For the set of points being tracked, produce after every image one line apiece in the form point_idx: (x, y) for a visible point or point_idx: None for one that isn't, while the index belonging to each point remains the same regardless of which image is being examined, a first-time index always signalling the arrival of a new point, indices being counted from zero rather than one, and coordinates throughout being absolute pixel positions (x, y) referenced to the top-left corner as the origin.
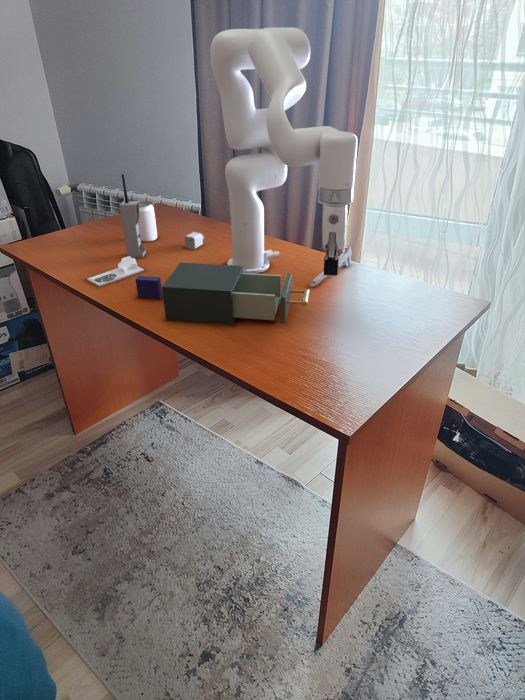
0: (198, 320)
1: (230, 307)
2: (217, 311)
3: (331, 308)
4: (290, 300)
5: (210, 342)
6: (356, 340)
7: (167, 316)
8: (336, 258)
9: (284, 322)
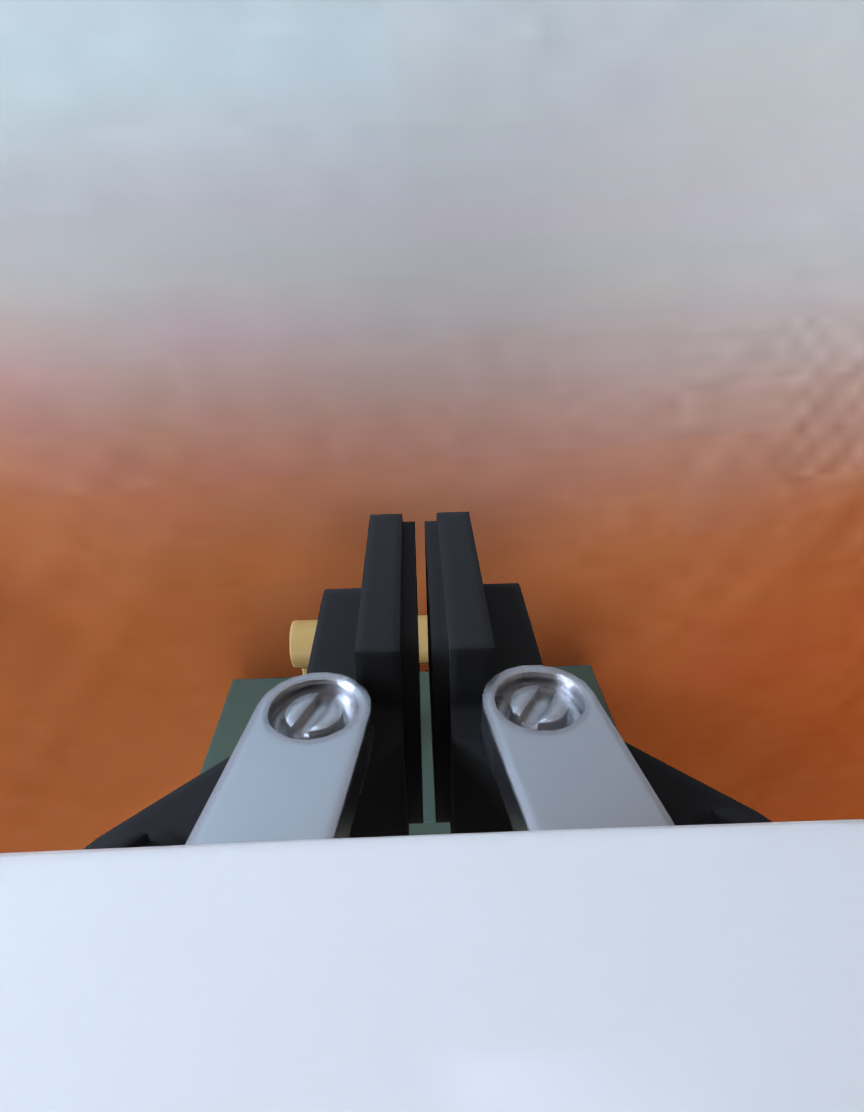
0: None
1: None
2: None
3: (253, 389)
4: (273, 681)
5: None
6: (750, 150)
7: None
8: (592, 712)
9: (593, 673)
